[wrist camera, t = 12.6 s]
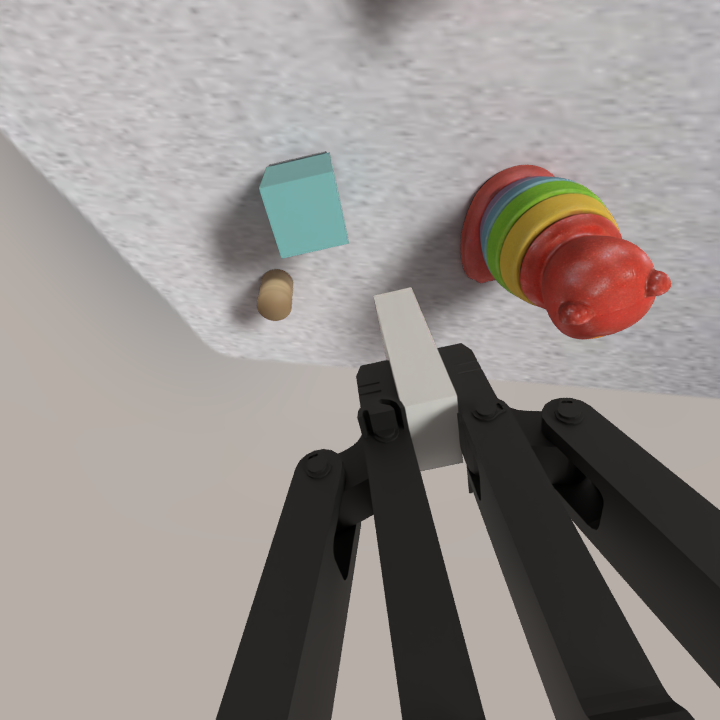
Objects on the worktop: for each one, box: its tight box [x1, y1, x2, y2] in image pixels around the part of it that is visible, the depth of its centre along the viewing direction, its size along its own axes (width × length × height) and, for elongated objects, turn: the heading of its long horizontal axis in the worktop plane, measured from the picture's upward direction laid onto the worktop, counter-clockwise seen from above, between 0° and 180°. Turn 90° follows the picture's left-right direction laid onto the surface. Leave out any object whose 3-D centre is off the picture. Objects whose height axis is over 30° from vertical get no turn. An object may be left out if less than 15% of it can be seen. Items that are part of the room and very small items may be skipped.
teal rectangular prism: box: [259, 153, 349, 258], centre depth 34 cm, size 5×5×7 cm
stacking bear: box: [461, 165, 671, 339], centre depth 34 cm, size 11×10×18 cm
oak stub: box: [257, 269, 293, 321], centre depth 41 cm, size 3×3×4 cm
